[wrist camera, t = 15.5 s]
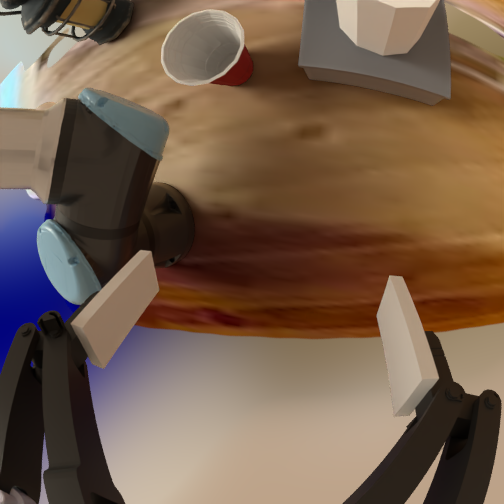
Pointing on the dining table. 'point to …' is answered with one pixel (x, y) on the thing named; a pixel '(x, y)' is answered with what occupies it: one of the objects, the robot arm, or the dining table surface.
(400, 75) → the grey box
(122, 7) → the lantern
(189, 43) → the plastic cup
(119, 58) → the dining table surface
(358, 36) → the toilet paper
